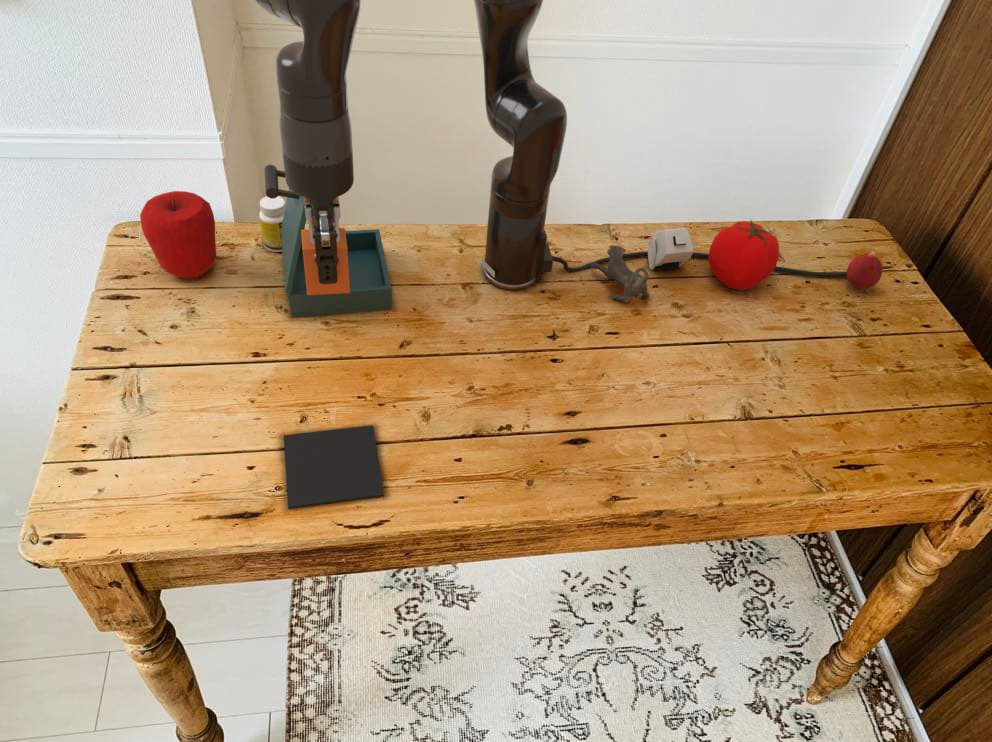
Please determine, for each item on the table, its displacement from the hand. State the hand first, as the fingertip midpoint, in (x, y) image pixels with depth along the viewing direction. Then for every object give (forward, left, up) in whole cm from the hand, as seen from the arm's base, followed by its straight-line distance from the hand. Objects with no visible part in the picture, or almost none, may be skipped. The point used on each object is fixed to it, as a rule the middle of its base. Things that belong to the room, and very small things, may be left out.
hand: (327, 269), depth 101 cm
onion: (-93, -12, -22) cm, 96 cm away
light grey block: (-59, -22, -22) cm, 67 cm away
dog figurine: (-49, -17, -22) cm, 56 cm away
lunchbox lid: (+3, -24, -9) cm, 26 cm away
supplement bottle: (+7, -35, -22) cm, 42 cm away
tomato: (-71, -17, -22) cm, 76 cm away
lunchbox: (-2, -24, -22) cm, 33 cm away
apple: (+21, -30, -22) cm, 43 cm away
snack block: (0, 0, -2) cm, 2 cm away
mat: (+2, +14, -22) cm, 26 cm away
